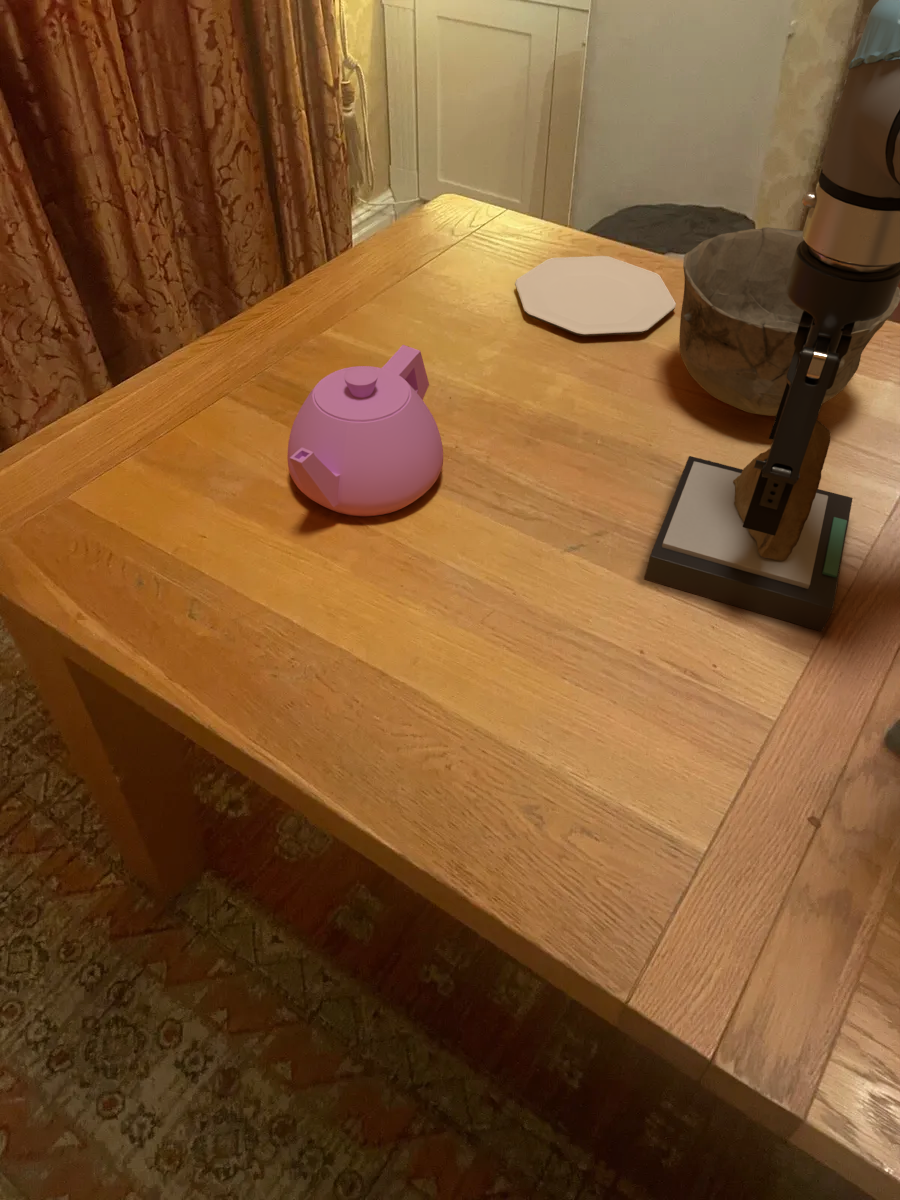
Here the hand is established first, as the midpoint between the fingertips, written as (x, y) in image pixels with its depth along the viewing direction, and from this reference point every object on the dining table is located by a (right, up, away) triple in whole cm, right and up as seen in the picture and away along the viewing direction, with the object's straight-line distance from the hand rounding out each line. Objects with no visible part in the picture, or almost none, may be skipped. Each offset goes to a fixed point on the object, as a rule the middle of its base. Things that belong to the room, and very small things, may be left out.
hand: (772, 482), depth 80 cm
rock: (0, -3, +4) cm, 5 cm away
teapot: (-37, +2, +13) cm, 39 cm away
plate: (-10, +28, +38) cm, 48 cm away
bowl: (+6, +13, +24) cm, 28 cm away
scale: (0, -6, +6) cm, 8 cm away
